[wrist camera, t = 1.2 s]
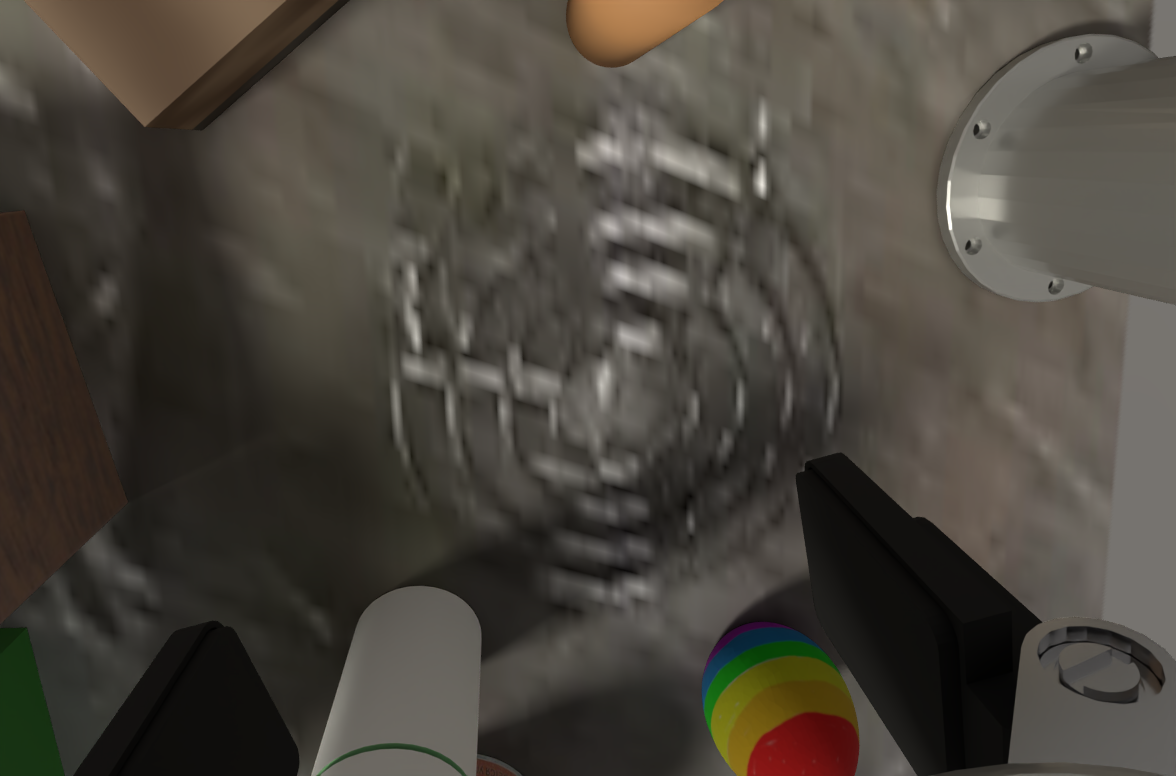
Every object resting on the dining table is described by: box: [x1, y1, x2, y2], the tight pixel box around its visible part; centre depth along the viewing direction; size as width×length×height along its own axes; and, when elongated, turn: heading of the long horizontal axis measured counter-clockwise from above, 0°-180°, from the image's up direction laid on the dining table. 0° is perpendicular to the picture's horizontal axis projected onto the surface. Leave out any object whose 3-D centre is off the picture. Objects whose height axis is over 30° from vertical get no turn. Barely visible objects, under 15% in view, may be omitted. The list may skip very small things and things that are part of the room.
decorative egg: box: [702, 622, 859, 776], centre depth 38 cm, size 8×8×10 cm
